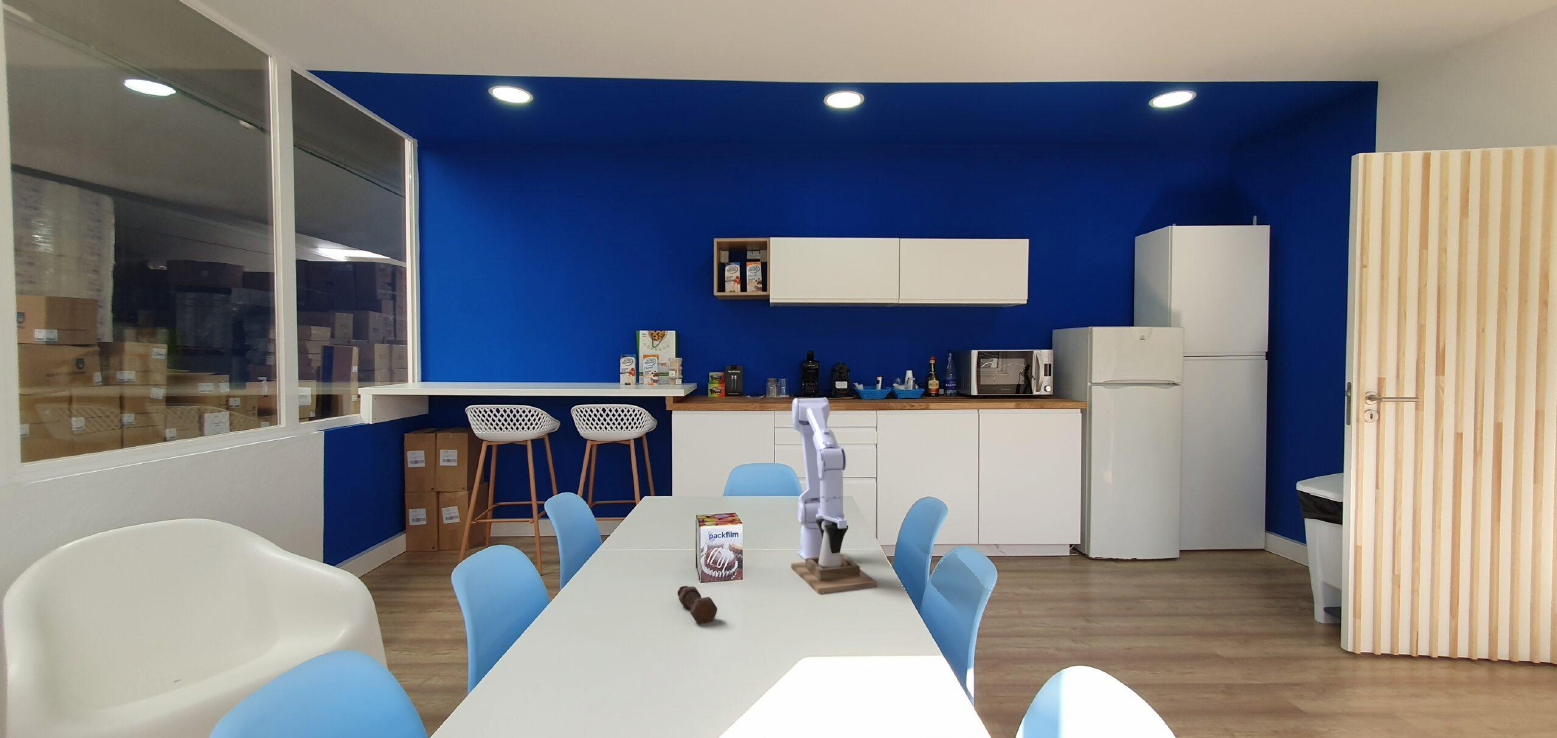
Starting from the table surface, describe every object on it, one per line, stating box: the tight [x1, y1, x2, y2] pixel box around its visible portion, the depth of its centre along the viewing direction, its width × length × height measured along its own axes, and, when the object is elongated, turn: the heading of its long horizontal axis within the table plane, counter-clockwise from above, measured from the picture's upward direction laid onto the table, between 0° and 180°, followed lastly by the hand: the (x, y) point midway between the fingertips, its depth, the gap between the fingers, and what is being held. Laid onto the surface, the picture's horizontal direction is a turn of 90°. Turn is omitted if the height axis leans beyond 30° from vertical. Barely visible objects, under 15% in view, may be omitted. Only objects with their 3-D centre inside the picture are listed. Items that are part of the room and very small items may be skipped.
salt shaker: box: [818, 520, 842, 569], centre depth 171 cm, size 6×6×13 cm
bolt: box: [677, 585, 718, 625], centre depth 150 cm, size 6×5×15 cm
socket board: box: [790, 553, 878, 595], centre depth 172 cm, size 20×15×4 cm
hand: (832, 550), depth 172 cm, fingers closed on salt shaker, 4 cm apart
